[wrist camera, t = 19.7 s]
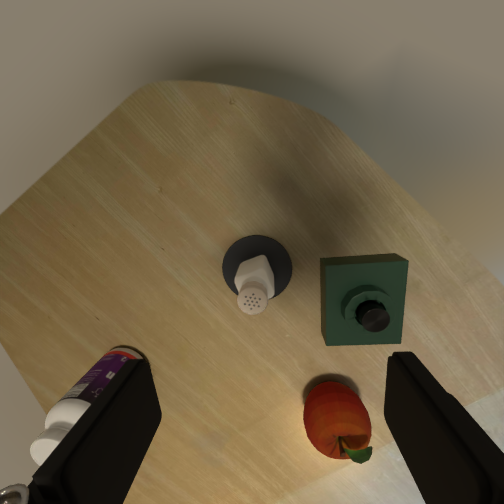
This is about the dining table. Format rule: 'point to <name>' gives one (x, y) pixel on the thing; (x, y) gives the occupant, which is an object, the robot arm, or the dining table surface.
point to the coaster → (254, 248)
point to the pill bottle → (78, 401)
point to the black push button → (372, 316)
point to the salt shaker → (254, 284)
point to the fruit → (338, 422)
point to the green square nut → (361, 297)
